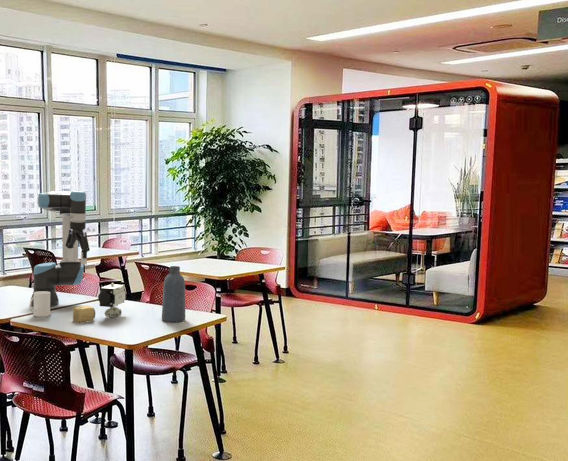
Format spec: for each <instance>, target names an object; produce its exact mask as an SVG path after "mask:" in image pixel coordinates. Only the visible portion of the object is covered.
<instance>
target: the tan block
mask: <svg viewBox="0 0 568 461" xmlns="http://www.w3.org/2000/svg"><path fill="white" fill-rule="evenodd" d="M95 317H96V309H95V307H93V306H90V305H82V306H75V307H73V308H72V321H73V322H75V321H76V322H75V323H77V322H78V324H82V323H81V322H83V323H88V322H87V321H90V322H94V319H95Z"/></svg>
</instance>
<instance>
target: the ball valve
mask: <svg viewBox="0 0 568 461" xmlns="http://www.w3.org/2000/svg"><path fill="white" fill-rule="evenodd" d="M125 286H126V285H125V284H118V283H117V284H115V283H114V282H111V284H108V285H105V286H102V287H99V294H98V297H97V298H98V299H97V300H98V301H99V307H105V308H106V307H107V309H106V310H105V311H104V316H105V317H106V318H108V317H109V319H110V318H114V317H115V318H118V317H121V316H122V311H123V310H122V309H121V308H120V307H118V306H119V305H121V304H123V303H125V301H126V300H127V290H126V289H125Z"/></svg>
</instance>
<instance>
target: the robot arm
mask: <svg viewBox="0 0 568 461" xmlns="http://www.w3.org/2000/svg"><path fill="white" fill-rule="evenodd" d="M86 204H87V194H86V192H85V191H82V190H81V191H80V190H73V191H57V190H53V191H47V192H41V193H39V194H38V196H37V205H38V207H39V208H40V209H42V210H45V211H48V212H49V211H50V212H58V213H59V216H60V217H61V218H62V221H61V222H62V230H61V231H62V237H61V238H62V239H61V240H62V259H61V260H60V261H59V265H58V264H57V263H56V262H43V263H39V264H36V265H35V266H34V268H33V292H32V295H31V297H30V301H31V299H32V298H33V297H34V292H38V291H48V292H50V307H53V306H58V305H59V303H60V301H59V297H58V294H57V291H56V287H57V286H58V287H59V286H61V287H62V286H79V285H81V284H82V282H83V277H84V272H85V271H84V270H85V266H84V265H86V266H87V265H88V264H87V263H88V262H87V261H88V259H87V257H88V252H90V251H91V250H90V246H89V240H88V235H87V234H88V233H87V232H86V231H84V230H86V219H87V217H86V214H87V213H86V209H87V207H86ZM79 247H80V249H81V251H80V259H79ZM30 301H29V302H30ZM31 307H34V299H33V300H32V302H31Z"/></svg>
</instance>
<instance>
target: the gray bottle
mask: <svg viewBox="0 0 568 461" xmlns="http://www.w3.org/2000/svg"><path fill="white" fill-rule="evenodd" d="M162 293H163V294H162V306H161V321H163V322H165V323H182V322H184V321H185V320H186V282H185V278H184V276H183V275H182V274H181V267H180V266H176V265H171V266H169V274H167V275H166V276H165V278H164V281H163V292H162Z"/></svg>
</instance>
